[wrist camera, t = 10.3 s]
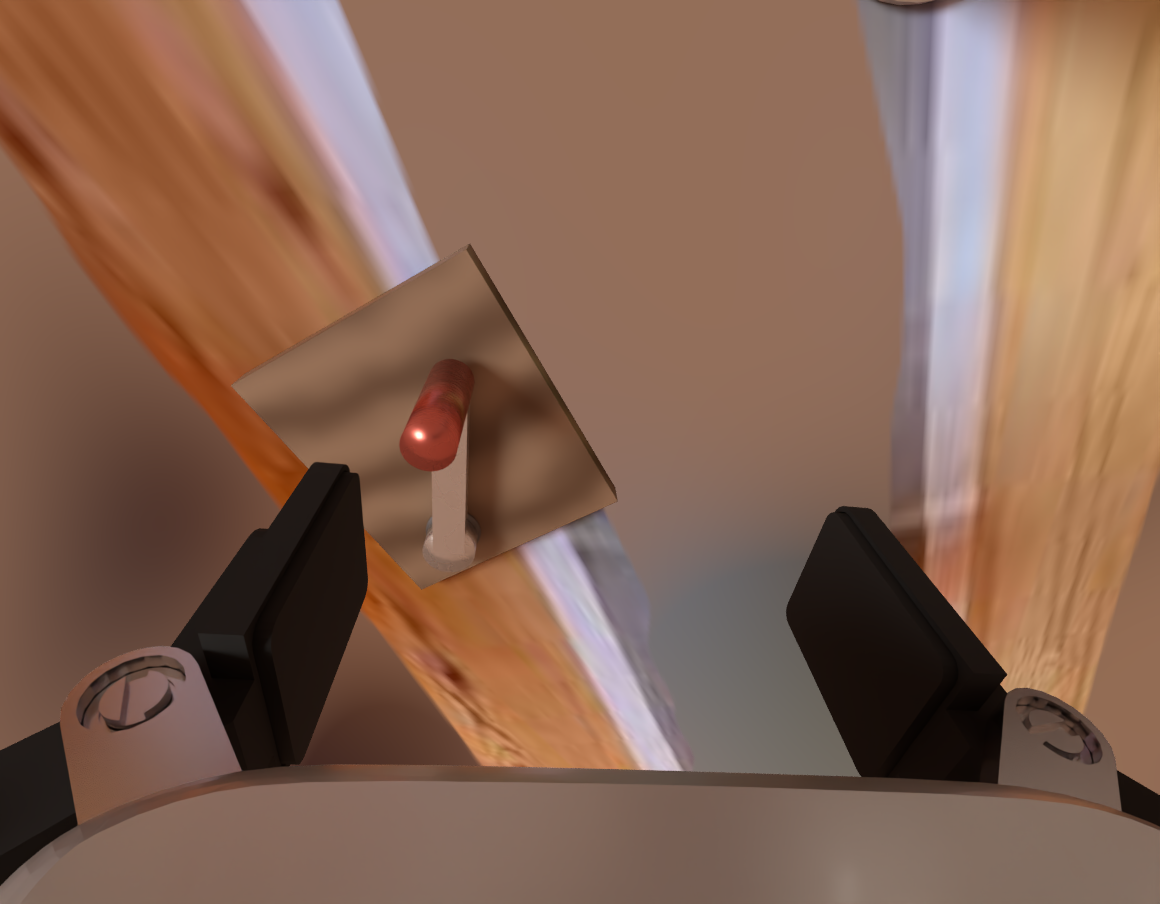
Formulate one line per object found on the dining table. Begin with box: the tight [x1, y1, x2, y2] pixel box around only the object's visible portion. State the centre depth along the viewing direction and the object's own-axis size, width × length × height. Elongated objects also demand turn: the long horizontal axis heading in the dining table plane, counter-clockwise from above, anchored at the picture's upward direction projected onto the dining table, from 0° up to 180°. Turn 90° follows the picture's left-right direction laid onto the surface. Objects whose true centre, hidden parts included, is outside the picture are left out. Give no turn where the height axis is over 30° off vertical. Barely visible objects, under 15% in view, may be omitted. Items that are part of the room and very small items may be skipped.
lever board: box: [231, 244, 617, 589], centre depth 43 cm, size 22×19×2 cm
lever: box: [399, 359, 478, 572], centre depth 38 cm, size 18×4×10 cm, turn 173°
